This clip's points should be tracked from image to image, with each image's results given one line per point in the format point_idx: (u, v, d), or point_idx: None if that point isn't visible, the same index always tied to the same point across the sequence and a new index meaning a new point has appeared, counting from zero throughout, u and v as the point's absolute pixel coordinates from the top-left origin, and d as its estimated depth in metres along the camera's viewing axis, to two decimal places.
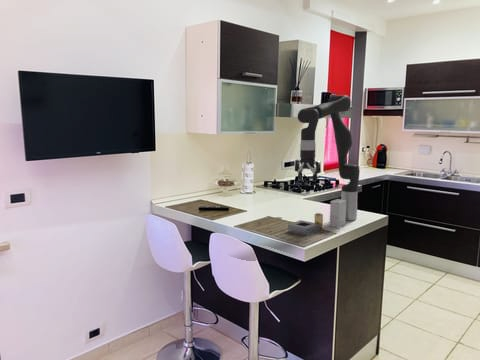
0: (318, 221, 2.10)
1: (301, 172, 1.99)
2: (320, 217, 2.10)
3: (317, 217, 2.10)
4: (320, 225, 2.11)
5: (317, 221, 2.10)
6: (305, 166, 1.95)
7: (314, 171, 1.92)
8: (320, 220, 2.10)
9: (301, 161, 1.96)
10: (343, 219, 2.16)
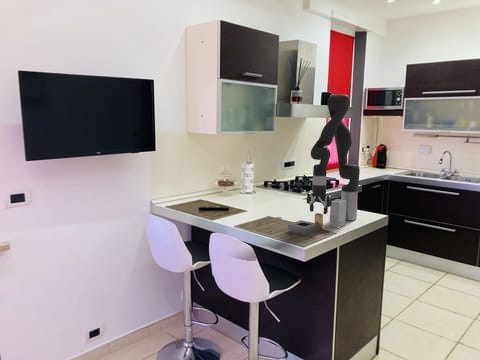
0: (318, 221, 2.10)
1: (312, 204, 2.14)
2: (320, 217, 2.10)
3: (317, 217, 2.10)
4: (320, 225, 2.11)
5: (317, 221, 2.10)
6: (316, 199, 2.10)
7: (325, 205, 2.07)
8: (320, 220, 2.10)
9: (313, 194, 2.11)
10: (343, 219, 2.16)
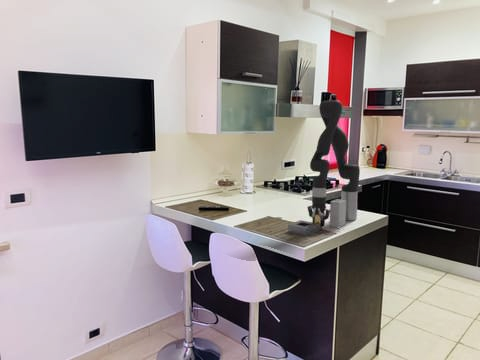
0: (318, 221, 2.10)
1: None
2: (320, 217, 2.10)
3: (317, 217, 2.10)
4: (320, 225, 2.11)
5: (317, 221, 2.10)
6: (317, 210, 2.11)
7: (322, 217, 2.09)
8: (320, 220, 2.10)
9: (312, 207, 2.13)
10: (343, 219, 2.16)
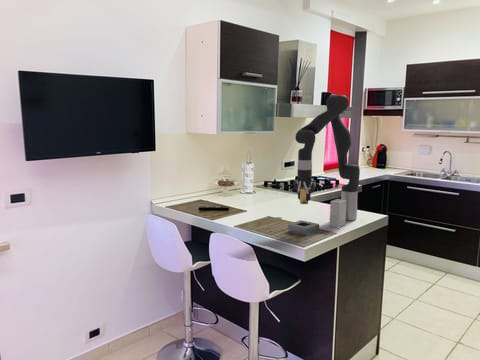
0: (303, 195, 2.03)
1: None
2: None
3: (302, 191, 2.02)
4: None
5: (302, 195, 2.03)
6: (303, 184, 2.03)
7: (308, 191, 2.01)
8: None
9: (298, 181, 2.05)
10: (343, 219, 2.16)
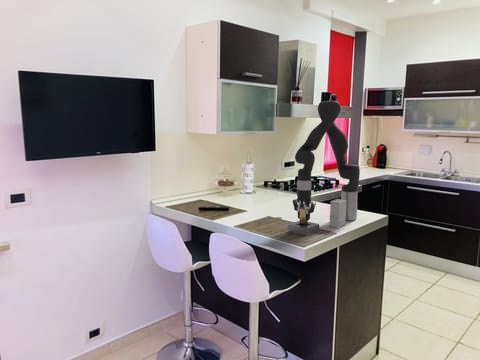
0: (303, 215, 2.04)
1: None
2: (305, 211, 2.04)
3: (302, 211, 2.04)
4: (305, 219, 2.05)
5: (302, 215, 2.04)
6: (302, 204, 2.05)
7: (308, 211, 2.03)
8: (305, 214, 2.04)
9: (297, 200, 2.07)
10: (343, 219, 2.16)
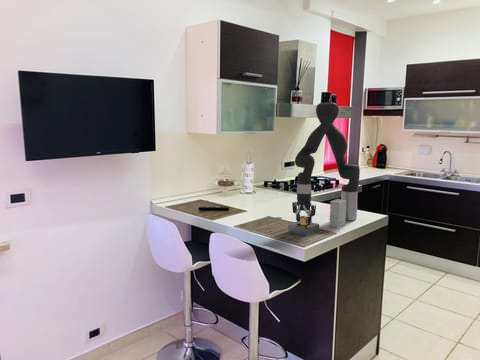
0: (303, 224, 2.05)
1: (299, 214, 2.09)
2: (305, 220, 2.05)
3: (302, 220, 2.05)
4: None
5: (302, 224, 2.05)
6: (302, 208, 2.05)
7: (309, 214, 2.03)
8: (305, 223, 2.05)
9: (298, 203, 2.07)
10: (343, 219, 2.16)
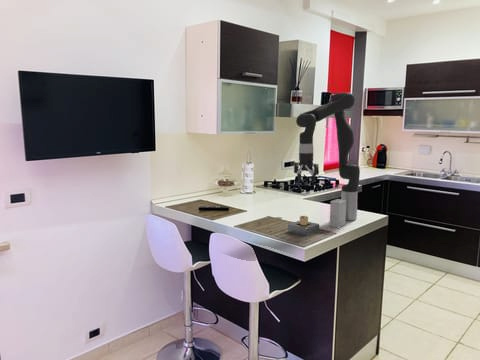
0: (303, 224, 2.05)
1: (300, 174, 2.09)
2: (305, 220, 2.05)
3: (302, 220, 2.05)
4: None
5: (302, 224, 2.05)
6: (304, 168, 2.05)
7: (312, 173, 2.02)
8: (305, 223, 2.05)
9: (300, 163, 2.06)
10: (343, 219, 2.16)
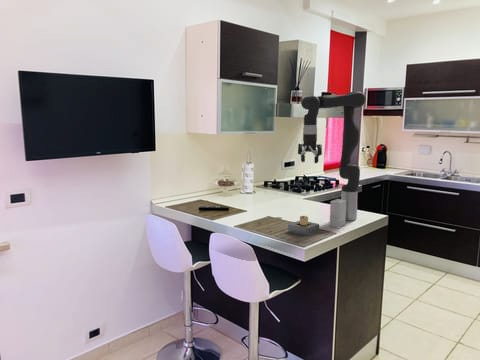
0: (303, 224, 2.05)
1: (304, 155, 2.17)
2: (305, 220, 2.05)
3: (302, 220, 2.05)
4: None
5: (302, 224, 2.05)
6: (307, 149, 2.13)
7: (316, 153, 2.09)
8: (305, 223, 2.05)
9: (304, 144, 2.14)
10: (343, 219, 2.16)
